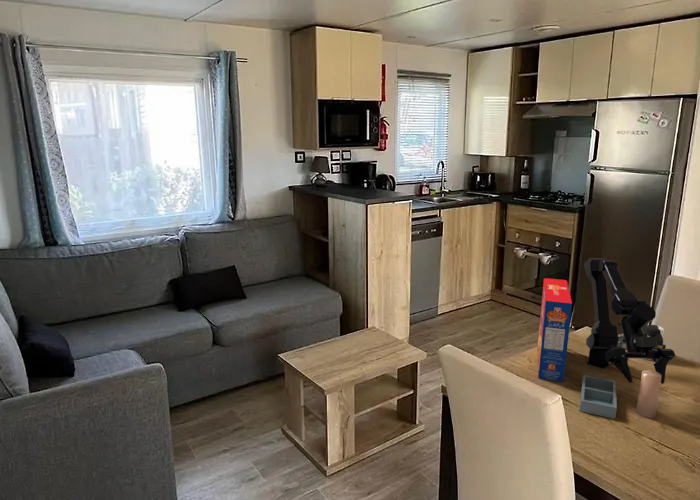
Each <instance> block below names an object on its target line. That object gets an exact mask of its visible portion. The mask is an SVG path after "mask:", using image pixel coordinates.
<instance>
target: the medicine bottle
mask: <svg viewBox="0 0 700 500" xmlns="http://www.w3.org/2000/svg"><path fill="white" fill-rule="evenodd" d="M644 328H645V330H644V334H647V336H648V337H652V335H653V334H661V335H662V338H663V345H658V348H656V347H653V349H652V350H650V351H649V352H656V351H657V350H659V349H667V348H666V346H667V344H666V342H665V340H664V337H665V329H664V328H663V327H662V326H660V325H657V324H647V325H646V326H645V327H644ZM641 359H642V360H645V359H644V358H641ZM646 360H648V361H653V359H646Z"/></svg>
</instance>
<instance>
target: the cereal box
mask: <svg viewBox="0 0 700 500" xmlns="http://www.w3.org/2000/svg"><path fill="white" fill-rule="evenodd" d="M570 293H571V292H570V288H569V284H568V280H566V279H557V278H546V277H545V278H543V286H542V295H541V306H540V307H541V308H540V316H539V317H540V318H539V327H538V328H539V329H538V337H537V338H538V339H537V377H538V378H537V379H540V380H547V381H555V382H560V383H564V380H565V370H566V361H567V354H568V353H567V352H568V346H569V345H568V344H569V343H568V342H569V334H570V333H569V332H570V327H571V326H570V325H571V316H572V308H573V301H572V298H571V294H570Z"/></svg>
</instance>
